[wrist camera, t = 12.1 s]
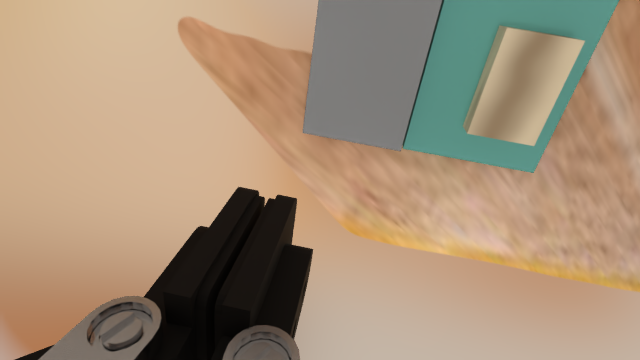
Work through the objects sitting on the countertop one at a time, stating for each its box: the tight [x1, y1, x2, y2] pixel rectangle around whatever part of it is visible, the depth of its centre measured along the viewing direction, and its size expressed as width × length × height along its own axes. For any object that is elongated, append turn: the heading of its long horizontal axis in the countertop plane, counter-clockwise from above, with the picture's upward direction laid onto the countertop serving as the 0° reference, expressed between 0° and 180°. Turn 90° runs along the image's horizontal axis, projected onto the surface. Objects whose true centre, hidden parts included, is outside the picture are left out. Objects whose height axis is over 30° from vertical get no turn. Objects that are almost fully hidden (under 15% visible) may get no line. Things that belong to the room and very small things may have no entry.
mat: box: [402, 0, 619, 173], centre depth 31 cm, size 13×18×1 cm
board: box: [303, 0, 442, 151], centre depth 32 cm, size 10×18×2 cm, turn 172°
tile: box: [463, 25, 585, 146], centre depth 31 cm, size 6×9×2 cm, turn 172°
